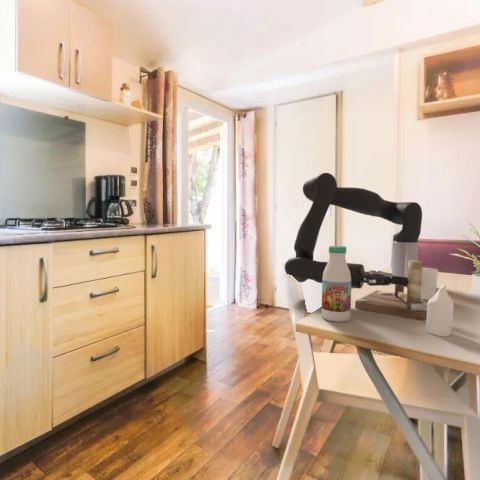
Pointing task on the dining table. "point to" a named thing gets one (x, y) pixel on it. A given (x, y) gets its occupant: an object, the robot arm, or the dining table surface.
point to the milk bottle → (336, 286)
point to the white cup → (428, 282)
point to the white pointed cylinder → (440, 313)
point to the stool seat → (390, 305)
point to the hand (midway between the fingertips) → (407, 281)
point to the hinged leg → (411, 284)
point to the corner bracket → (419, 306)
